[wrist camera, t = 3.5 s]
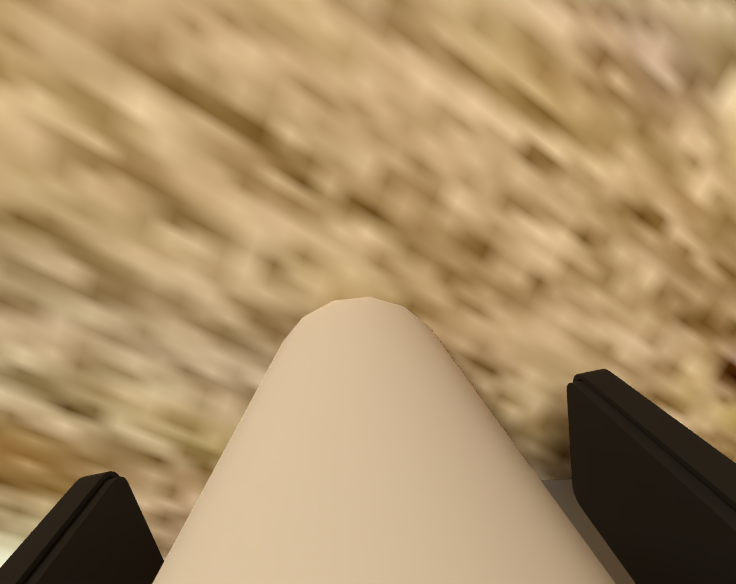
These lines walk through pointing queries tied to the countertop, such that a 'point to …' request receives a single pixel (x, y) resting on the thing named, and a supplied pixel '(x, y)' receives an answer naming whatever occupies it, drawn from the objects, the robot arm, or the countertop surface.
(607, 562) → the slate-grey block
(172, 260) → the countertop surface
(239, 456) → the cream cup
